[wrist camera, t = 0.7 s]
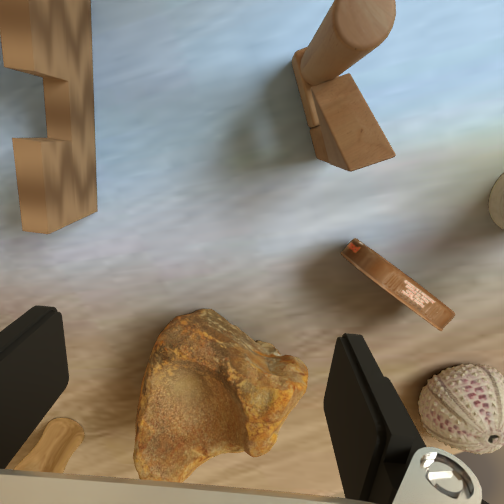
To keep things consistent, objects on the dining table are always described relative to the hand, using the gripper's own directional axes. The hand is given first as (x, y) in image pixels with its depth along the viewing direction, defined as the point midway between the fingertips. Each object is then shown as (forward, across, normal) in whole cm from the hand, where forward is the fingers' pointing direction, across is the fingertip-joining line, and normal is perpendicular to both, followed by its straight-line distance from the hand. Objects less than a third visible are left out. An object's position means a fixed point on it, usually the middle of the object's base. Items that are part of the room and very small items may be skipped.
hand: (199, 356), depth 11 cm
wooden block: (+30, -8, -11) cm, 33 cm away
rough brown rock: (+30, +2, +22) cm, 37 cm away
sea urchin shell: (+30, -35, +26) cm, 53 cm away
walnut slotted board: (+30, +18, -8) cm, 36 cm away
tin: (+30, -19, +8) cm, 37 cm away
